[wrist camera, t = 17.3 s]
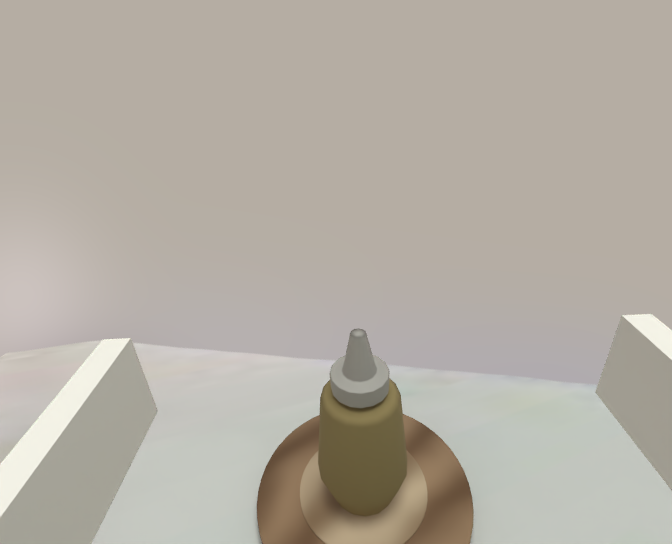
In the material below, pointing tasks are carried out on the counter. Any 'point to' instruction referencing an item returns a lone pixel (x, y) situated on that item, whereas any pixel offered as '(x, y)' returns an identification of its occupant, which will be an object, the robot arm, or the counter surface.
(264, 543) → the walnut board
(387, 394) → the squeeze bottle
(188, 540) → the counter surface
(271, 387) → the counter surface
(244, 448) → the counter surface
